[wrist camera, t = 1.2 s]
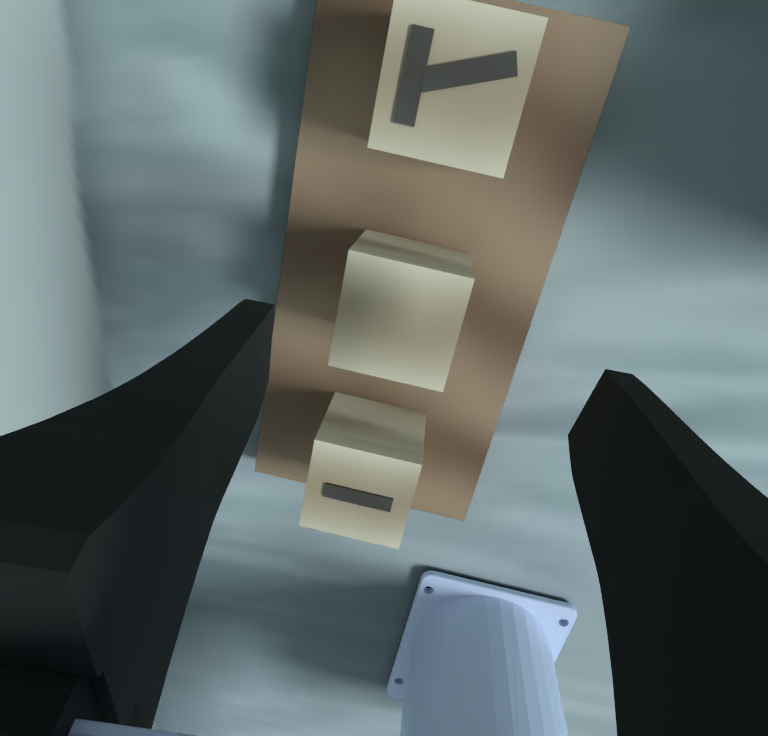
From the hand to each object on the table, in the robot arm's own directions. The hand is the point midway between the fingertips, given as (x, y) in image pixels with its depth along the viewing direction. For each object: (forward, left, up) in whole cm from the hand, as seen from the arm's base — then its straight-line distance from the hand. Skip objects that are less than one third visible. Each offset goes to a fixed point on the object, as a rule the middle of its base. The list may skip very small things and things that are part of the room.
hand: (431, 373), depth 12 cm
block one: (-8, +1, -10) cm, 13 cm away
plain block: (-1, +1, -10) cm, 10 cm away
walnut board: (-1, +1, -11) cm, 11 cm away
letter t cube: (+6, +1, -10) cm, 12 cm away
